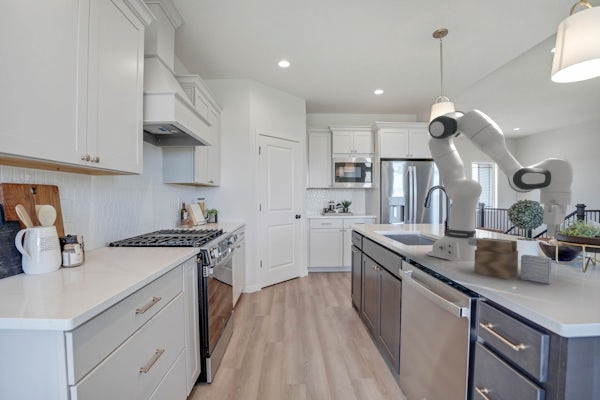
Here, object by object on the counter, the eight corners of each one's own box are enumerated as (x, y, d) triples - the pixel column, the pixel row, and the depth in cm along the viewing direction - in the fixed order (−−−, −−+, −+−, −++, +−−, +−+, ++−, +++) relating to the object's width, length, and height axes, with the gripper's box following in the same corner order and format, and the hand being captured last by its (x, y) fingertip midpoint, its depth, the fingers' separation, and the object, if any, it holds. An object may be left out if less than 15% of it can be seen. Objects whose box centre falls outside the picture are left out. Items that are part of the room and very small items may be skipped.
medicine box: (551, 282, 95) (551, 257, 95) (549, 284, 92) (550, 259, 92) (523, 276, 101) (523, 254, 101) (520, 279, 98) (520, 255, 98)
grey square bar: (468, 245, 112) (468, 237, 112) (471, 244, 113) (471, 237, 113) (509, 250, 101) (509, 242, 101) (511, 249, 102) (512, 241, 102)
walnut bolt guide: (474, 272, 106) (474, 240, 106) (485, 267, 113) (485, 237, 113) (508, 279, 97) (509, 244, 97) (517, 273, 105) (518, 240, 105)
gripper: (562, 200, 95) (559, 238, 95) (570, 200, 108) (567, 234, 108) (538, 199, 100) (536, 236, 100) (548, 200, 113) (546, 232, 113)
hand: (552, 235), depth 104 cm, fingers open, 8 cm apart
